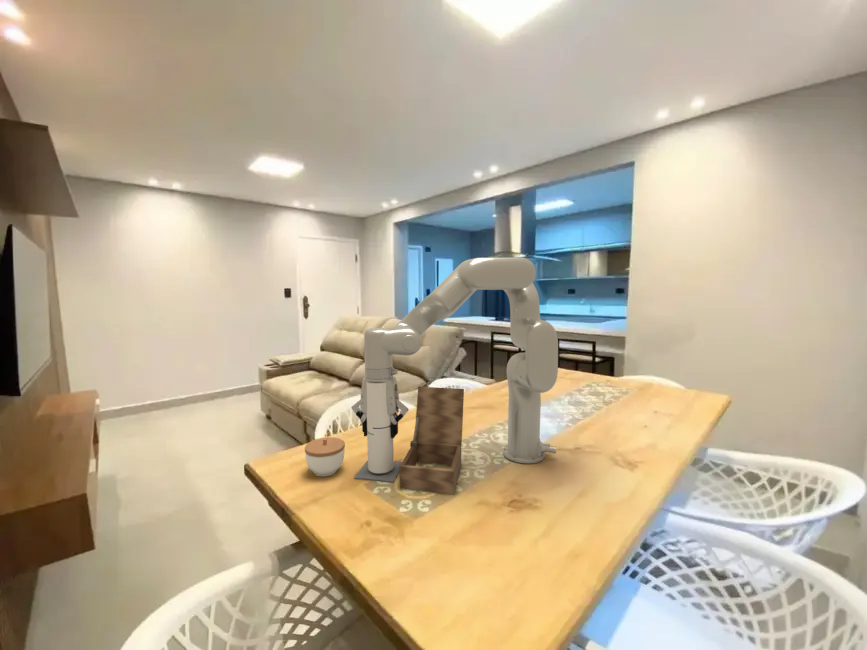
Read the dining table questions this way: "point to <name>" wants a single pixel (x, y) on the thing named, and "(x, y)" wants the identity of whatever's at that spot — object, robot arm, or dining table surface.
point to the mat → (378, 474)
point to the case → (435, 441)
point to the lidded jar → (325, 455)
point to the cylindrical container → (378, 430)
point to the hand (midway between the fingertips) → (380, 435)
